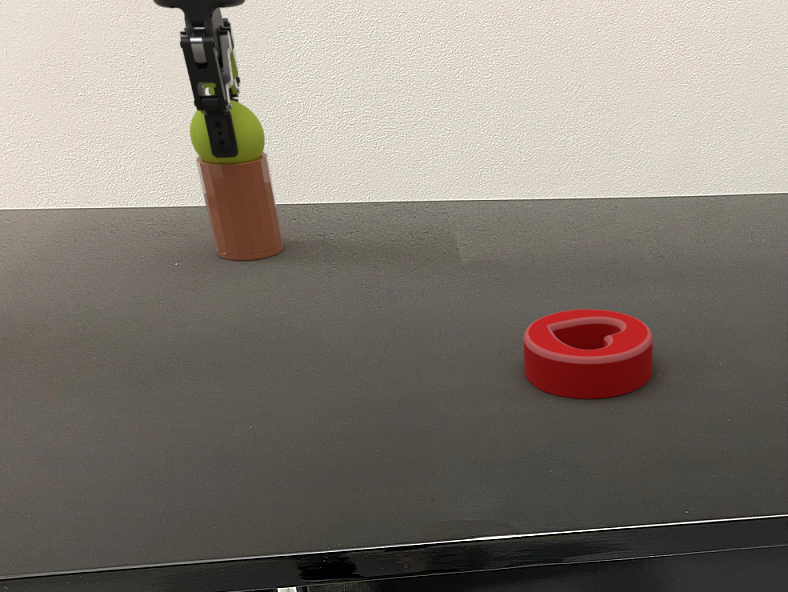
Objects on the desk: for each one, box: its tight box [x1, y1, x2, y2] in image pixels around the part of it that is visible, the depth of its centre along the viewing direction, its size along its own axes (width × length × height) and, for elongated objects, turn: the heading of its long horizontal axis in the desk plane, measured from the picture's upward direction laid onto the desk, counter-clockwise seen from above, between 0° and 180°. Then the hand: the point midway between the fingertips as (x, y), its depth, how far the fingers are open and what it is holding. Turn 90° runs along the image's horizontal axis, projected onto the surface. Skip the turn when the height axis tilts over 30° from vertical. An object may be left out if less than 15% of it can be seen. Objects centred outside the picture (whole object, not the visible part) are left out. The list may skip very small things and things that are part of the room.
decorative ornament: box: [522, 308, 654, 400], centre depth 72 cm, size 10×10×3 cm
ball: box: [189, 100, 266, 164], centre depth 89 cm, size 6×6×6 cm
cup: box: [195, 151, 284, 261], centre depth 93 cm, size 6×6×9 cm
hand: (229, 147), depth 90 cm, fingers closed on ball, 6 cm apart
